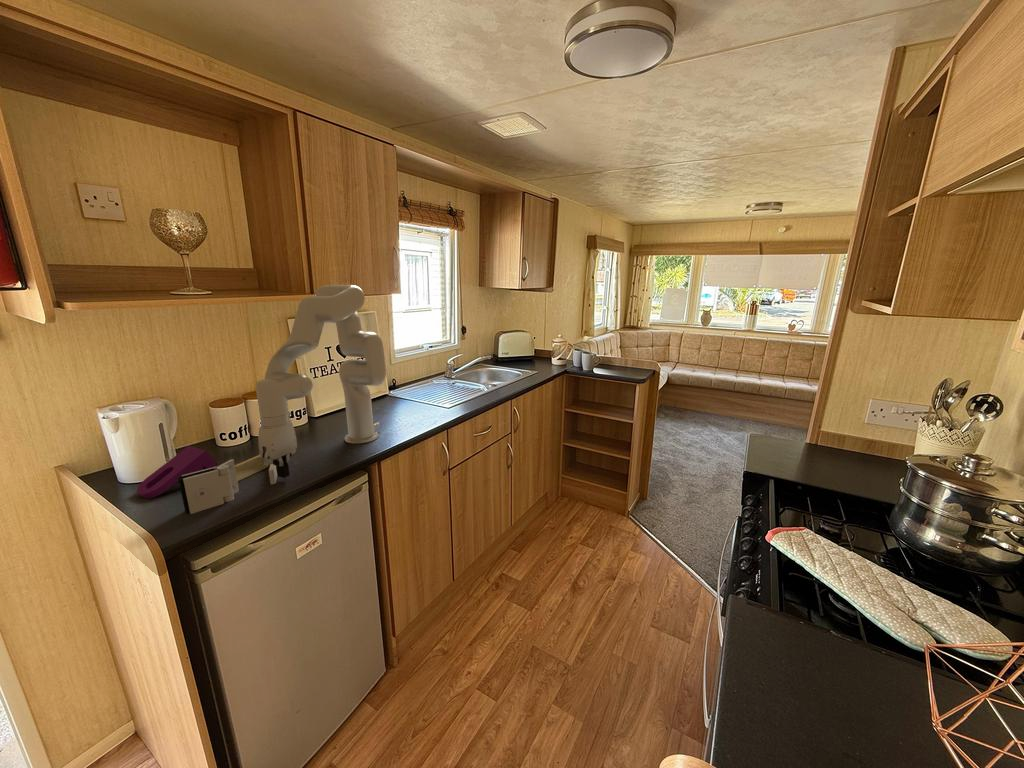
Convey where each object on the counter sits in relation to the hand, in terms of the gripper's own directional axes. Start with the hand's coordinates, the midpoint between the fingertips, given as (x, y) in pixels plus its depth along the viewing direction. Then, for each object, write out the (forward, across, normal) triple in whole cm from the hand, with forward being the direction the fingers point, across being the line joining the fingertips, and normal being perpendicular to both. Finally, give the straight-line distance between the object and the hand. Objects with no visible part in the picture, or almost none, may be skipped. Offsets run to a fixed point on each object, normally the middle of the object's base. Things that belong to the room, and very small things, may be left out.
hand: (283, 476), depth 127 cm
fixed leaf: (+2, -1, -13) cm, 13 cm away
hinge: (+2, +16, -8) cm, 18 cm away
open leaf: (+1, -2, -6) cm, 6 cm away
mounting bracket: (+2, +12, -29) cm, 31 cm away
